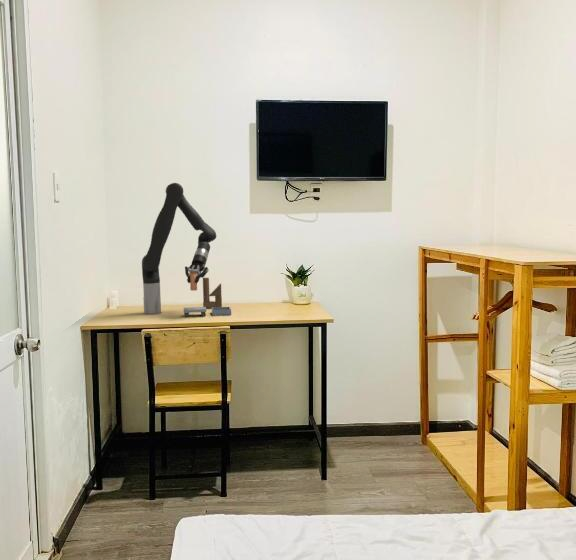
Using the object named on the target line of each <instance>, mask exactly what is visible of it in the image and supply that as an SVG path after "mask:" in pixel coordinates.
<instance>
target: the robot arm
mask: <svg viewBox="0 0 576 560" xmlns="http://www.w3.org/2000/svg"><path fill="white" fill-rule="evenodd" d="M177 208H179V210H180V211H181V212H182V213H183V214H182V215H184V217H185V218H186V220H187V221H188V222H189V224H190V225H191V226H192V228H193V229H194V230H195V231H202V232H201V233H200V234H199V235H198V238H197V248H196V250H195V252H194V253H193V254H194V255H193V258H192V261H191V264H190V265H189V266H184V271H185V275H186V277H187V278H186V282H187V283H188V284H190V272H189V270H190V269H198V272H197V276H196V279H195V283H197V284H198V283H199V282H200V279H201V278H202V279H203V278H205V277H206V275H207V273H208V272H209V268H208V267H207V266H206V264H207V261H208V257H209V254H210V250H211V244H210V243H212V242H213V241H214V240H216V238H217V233H216V231H215V229H214V228H212V226H210V225H209V224H208V223H207V222H205V221H204V219H203V218H202V217H201V216H200V214H199V212H198V211H196V209H195V208H194V207H193V206H192V204H190V203H189V201H188V200H187V198H186V197H185V195H184V188H183V186H182V185H181V184H180V183H178V182H172V183H170V184H168V185H167V186H166V188H165V199H164V203H163V205H162V208H161V210H160V211H159V213H158V215H157V218H156V219H155V222H154V225H153V227H152V228H153V229H152V234H151V239H150V245H149V247H148V249H147V252H146V254H145V255H144V256H143V257H142V259H141V273H142V275H141V276H142V286H143V299H142V300H143V314H144V315H145V314H147V315H155V314H160V313H162V303H161V300H162V299H161V277H160V268H159V267H160V264H161V259H162V255H163V251H164V247H165V245H166V244H167V241H168V238H169V236H170V233H171V231H172V227H173V224H174V220H175V215H176V211H177Z"/></svg>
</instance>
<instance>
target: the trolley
mask: <svg viewBox="0 0 576 560" xmlns="http://www.w3.org/2000/svg"><path fill="white" fill-rule="evenodd" d="M206 312H207V308H206V307H203V306H196V307H195V306H194V307H183V314H184V315H183V316H184V317H185V318H189V317H190V314H191V313H200V315H201V316H202V317H203V316H204V317H206V315H207V313H206Z"/></svg>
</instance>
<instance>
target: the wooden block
mask: <svg viewBox="0 0 576 560" xmlns="http://www.w3.org/2000/svg"><path fill="white" fill-rule="evenodd" d="M202 291H203V292H202V294H203V295H202V297H203V298H202V299H203V302H202V304H203V305H202V307H206V309H212V307H223V305H222V303H223V302H222V301H223V300H222V299H223V298H222V296H223V295H222V283H219V284H218V285H217V287H215V288H214V290H212V291H211V293H210V278H209V277H203V278H202ZM210 297H214V299H215V300H214V301H212V300H211V299H210Z"/></svg>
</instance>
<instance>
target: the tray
mask: <svg viewBox="0 0 576 560" xmlns="http://www.w3.org/2000/svg"><path fill="white" fill-rule="evenodd" d="M211 314H212V315H222V316H232V309H231V307H230V306H222V307H212V308H211Z"/></svg>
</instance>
